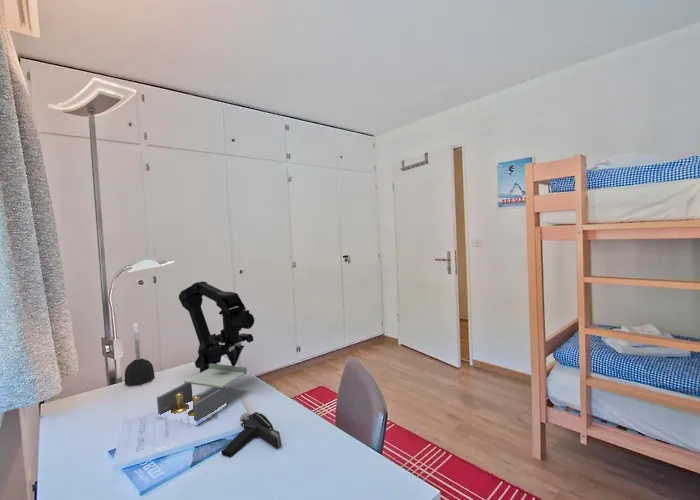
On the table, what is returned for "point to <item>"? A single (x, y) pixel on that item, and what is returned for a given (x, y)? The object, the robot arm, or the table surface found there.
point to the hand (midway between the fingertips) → (233, 365)
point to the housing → (200, 407)
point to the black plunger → (138, 367)
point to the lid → (217, 375)
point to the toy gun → (253, 433)
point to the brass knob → (195, 399)
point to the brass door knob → (179, 404)
